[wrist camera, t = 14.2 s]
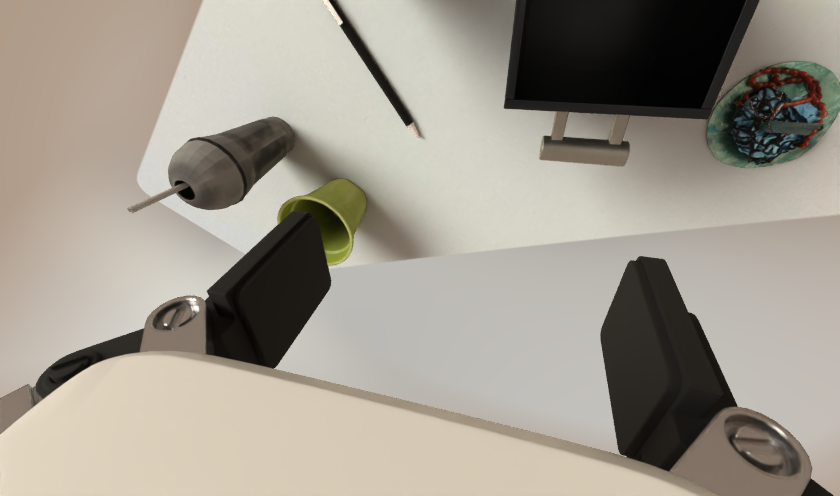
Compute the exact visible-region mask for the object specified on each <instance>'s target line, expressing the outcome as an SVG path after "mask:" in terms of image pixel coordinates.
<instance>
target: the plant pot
mask: <svg viewBox="0 0 840 496" xmlns="http://www.w3.org/2000/svg"><path fill="white" fill-rule="evenodd" d="M366 207H367V202H366V198H365V195H364V193H363V192H362V190H361V189H360V188H359V187H357V186H355V185H354V184H353V183H352V182H351V181H349V180H346V179H335V180H332V181H330V182H328V183H327V184H325V185H323V186H322V187H320V188H318V189H317V190H315V191H313V192H311V193H310V194H308V195H304V196H297V197H294V198H291V199H289V200H288V201H286V202H285V203H284V204H283V205H282V206H281V208H280V210H279V212H278V218H277V220H278V224H279V223H280V222H281V221H282V220H283V219H285V218H286V217H287V216H288V215H289V214H290V213H291V212H293V211H301V212H308V213H311V214H312V215H313V216H314V218H316V219H317V220H318V222H319V227H320V231H321V236H322V241H323V245H324V250H325V254H326V259H327V264H328V266H331V265H337V264H339V263H341V262H343V261H345V260H346V259H347V258H348V256H349V255H350V253H351V251H352V248H353V238H354V234H355V232H356V230H357V228H358V226H359V223H360V221H361V219H362V217H363V215H364V213H365V211H366Z"/></svg>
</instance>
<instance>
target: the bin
mask: <svg viewBox="0 0 840 496" xmlns="http://www.w3.org/2000/svg"><path fill="white" fill-rule="evenodd" d="M758 2H759V0H516V7H515V16H514V25H513V34H512V42H511V51H510V60H509V69H508V77H507V86H506V95H505V103H504V108H505V109H521V110H540V111H556V114H555V119H554V124H553V129H552V135H551V136H543V138H542V142H541V148H540V155H539V159H540V160H549V161H561V162H573V163H585V164H597V165H609V166H624V165H625V163H626V162H627V159H628V156H629V151H630V144H629V142H628V141H622V139H623V136H624V133H625V130H626V126H627V123H628V120H629V117H630V115H634V116H652V117H671V118H690V119H708V118H709V115H710V113H711V111H712V108H713V106H714V104H715V102H716V99H717V97H718V95H719V92H720V90H721V88H722V85H723V83H724V81H725V78H726V76H727V74H728V72H729V69H730V67H731V65H732V62H733V60H734V58H735V55H736V53H737V51H738V49H739V46H740V44H741V42H742V39H743V37H744V35H745V32H746V30H747V28H748V26H749V23H750V21H751V19H752V16H753V14H754V12H755V9H756V7H757V5H758ZM569 112H578V113H596V114H615V117H614V121H613V124H612V127H611V131H610V134H609V138H608V140H600V139H585V138H571V137H563V136H564V131H565V127H566V122H567V117H568V113H569Z"/></svg>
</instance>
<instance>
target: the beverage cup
mask: <svg viewBox="0 0 840 496" xmlns="http://www.w3.org/2000/svg"><path fill="white" fill-rule="evenodd" d="M294 143H295V139H294V134H293V132H292V129H291V128H290V127H289V125H288V124H287V123H286V122H285V121H283V120H282V119H280V118H277V117H269V118H267V119H262V120H258V121H255V122H252V123H249V124H246V125H243V126H240V127H237V128H234V129H231V130H228V131H225V132H222V133H219V134H216V135H211V136H206V137H198V138H193V139H190V140H189V141H188V142H186V143H185V144H184V145H183V146H182V147H181V148H180V149H178V150H177V151H176V152H175V153H174V155H173V156H172V159H171V161H170V164H169V168H168V175H169V181H170V184H171V186H172V188H170V189H168V190H166V191H164V192H162V193H159V194H157V195H155V196H153V197H151V198H148V199H146V200H144V201H142V202H140V203H138V204H135V205H133V206H131V207H129V208H128V211H129V212H130V213H133V212H136V211H138V210H140V209H142V208H144V207H146V206H149V205H151V204H153V203H155V202H157V201H159V200H161V199H164V198H166V197H168V196H170V195H172V194H174V193H176V194H177V195H178V196H179V197H180V198H181V199H182V200H183V201H185V202H186V203H188V204H190V205H192V206H194V207H196V208H201V209H206V210H216V209H223V208H227V207H229V206H231V205H234V204H237V203H239V202H240V201H242V200H243V199H244V197H245V195H246V194H247V193H248V192H249V191H250V189H251V188H252V186H253V185H254V184H255V183H256V182H257V181H258V180H259V179H261V178H262V177H263V176H264V175H265V174H266V173H267V172H268V171H269V170H270V169H272V168H273V167H274V166H275V165H276V164H277V163H278V162H279V161H280V160H281V159H283V158H284V157H285V156H286V155H287V153H288V152H289V151H290V150H291V149H292V148H293V146H294Z"/></svg>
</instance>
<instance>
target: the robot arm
mask: <svg viewBox="0 0 840 496" xmlns="http://www.w3.org/2000/svg"><path fill="white" fill-rule="evenodd" d="M330 286H331V277H330V273H329V268H328V264H327V259H326V254H325V250H324V245H323V241H322V236H321V231H320V227H319V222H318V220H317V219H316V218H314V216H313V215H312V214H311V213H308V212H301V211H293V212H291V213H290V214H289V215H288V216H287V217H286V218H285V219H283V220H282V221H281V222H280V223H279V224H278V225H277V226H276V227H275V228H274V229H273V230H272V231H271V232H269V233H268V234H267V235H266V236H265V237H264V238H263V239H262V240H261V241H260V242H259V243H258V244H257V245H256V246H254V247H253V248H252V249H251V250H250V251H249V252H248V253H247V254H246V255H245V256H244V257H243V258H242V259H240V260H239V261H238V262H237V263H236V264H235V265H234V266H233V267H232V268H231V269H230V270H229V271H228V272H227V273H226V274H224V275H223V276H222V277H221V278H220V279H219V280H218V281H217V282H216V283H215V284H214V285H213V286H211V287H210V288H209V289H208V290H207V292H208V295H209V297H208V298H207V299H206V300H205V301H204V300H203V299H202V298H201V297H197V296H183V297H178V298H175V299H172V300H170V301H168V302H166V303H164V304H162V305H160V306H159V307H158V308H157V309H155V310H154V311H153V312H152V313H151V314H150V315H149V317H148V318H147V320H146V323H145V328H144V329H141V330H138V331H135V332H132V333H129V334H126V335H123V336H120V337H117V338H114V339H111V340H108V341H105V342H103V343H100V344H96V345H93V346H91V347H88V348H85V349H82V350H79V351H76V352H74V353H71V354H69V355H67V356H65V357H63V358H61V359H59V360H58V361H56V362H55V363H54V364H53V365H51V366H50V367H49V368H48V369H47V370H46V371H45V372H44V373H43V374H42V375H41V376H40V378H39V379H38V381H37V383H36V386H35V387H33V388H32V387H31V386H30V385H29V384H27V385H25V386H23V387H21V388H19V389H17V390H15V391H13V392H12V393H9V394H7V395H6V396H4V397H2V398H0V496H833V495H832V494H831V493H829V492H828V491H827V490H825V489H824V488H823V487H821V486H820V485H819V484H818V483H816V482H815V481H814V480H812V479H811V473H812V466H811V462H810V459H809V456H808V455H807V453H806V451H805V450H804V448H803V447H802V445H801V444H800V443H799V441H798V440H796V438H795V437H794V436H793V435H792V434H791V433H790V432H789V431H788V430H786V429H785V428H783V427H782V426H781V425H779V424H778V423H777V422H776V421H774V420H772V419H770V418H769V417H767V416H765V415H763V414H761V413H759V412H755V411H753V410H750V409H747V408H741V407H738V406H737V404H736V402H735V399H734V397H733V395H732V393H731V391H730V388H729V386H728V384H727V382H726V380H725V378H724V375H723V373H722V371H721V369H720V366H719V364H718V362H717V360H716V358H715V356H714V353H713V351H712V349H711V347H710V345H709V342H708V340H707V338H706V336H705V334H704V331H703V329H702V327H701V325H700V323H699V321H698V319H697V317H696V316H695V315H694V314H692V313H689V312H688V311H687V309H686V306H685V304H684V302H683V299H682V297H681V295H680V292H679V290H678V288H677V286H676V283H675V281H674V279H673V276H672V274H671V272H670V270H669V267H668V265H667V263H666V261H665V260H664V259H658V258H651V257H643V256H640V257H638V258H637V260H636V261H632V260H631V261H630V262H629V263H628V265H627V267H626V269H625V272H624V274H623V277H622V279H621V282H620V284H619V286H618V289H617V292H616V294H615V296H614V299H613V301H612V304H611V306H610V308H609V311H608V314H607V316H606V318H605V321H604V323H603V326H602V329H601V344H602V351H603V358H604V363H605V370H606V376H607V382H608V388H609V395H610V401H611V407H612V414H613V419H614V426H615V432H616V438H617V445H618V450H619V452H620V454H621V455H625V456H627V457H623V456H620V455H617V454H614V453H611V452H607V451H603V450H599V449H595V448H592V447H588V446H584V445H580V444H576V443H573V442H569V441H565V440H561V439H558V438H554V437H550V436H546V435H543V434H539V433H535V432H531V431H527V430H523V429H518V428H514V427H510V426H507V425H503V424H499V423H495V422H490V421H486V420H482V419H478V418H474V417H470V416H466V415H462V414H458V413H454V412H450V411H446V410H442V409H438V408H434V407H430V406H426V405H422V404H418V403H413V402H409V401H405V400H401V399H397V398H393V397H389V396H385V395H380V394H376V393H372V392H368V391H364V390H360V389H356V388H352V387H348V386H344V385H340V384H335V383H331V382H327V381H322V380H318V379H314V378H310V377H306V376H301V375H297V374H293V373H289V372H285V371H280V370H276V369H274V368H275V367H276V366H277V365H278V364H279V362H280V360H281V359H282V357H283V356H284V355H285V353H286V352H287V351H288V349H289V348H290V346H291V345H292V343H293V342H294V340H295V339H296V337H297V336H298V334H299V333H300V332H301V330H302V329H303V327H304V325H305V324H306V323H307V321H308V320H309V318H310V317H311V315H312V314H313V313H314V311H315V310H316V308H317V307H318V305H319V304H320V302H321V301H322V299H323V298H324V297H325V295H326V293H327V292H328V291H329V289H330Z"/></svg>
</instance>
